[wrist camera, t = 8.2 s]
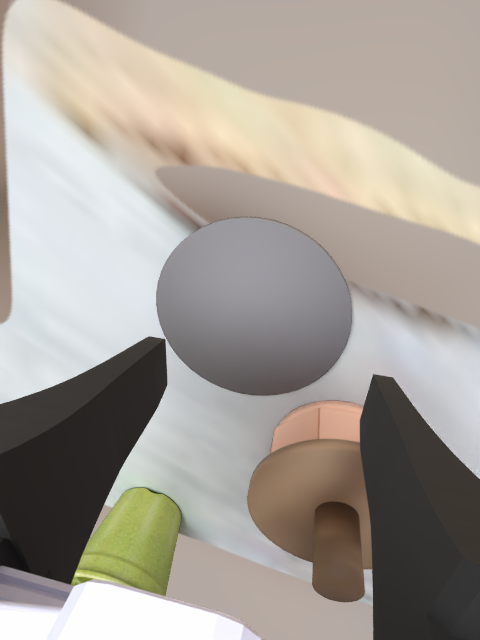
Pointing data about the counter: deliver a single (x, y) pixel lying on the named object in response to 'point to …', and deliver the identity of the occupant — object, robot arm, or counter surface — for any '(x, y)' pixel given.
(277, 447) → the bowl
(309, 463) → the lid
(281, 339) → the mat
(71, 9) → the counter surface
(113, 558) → the plant pot
